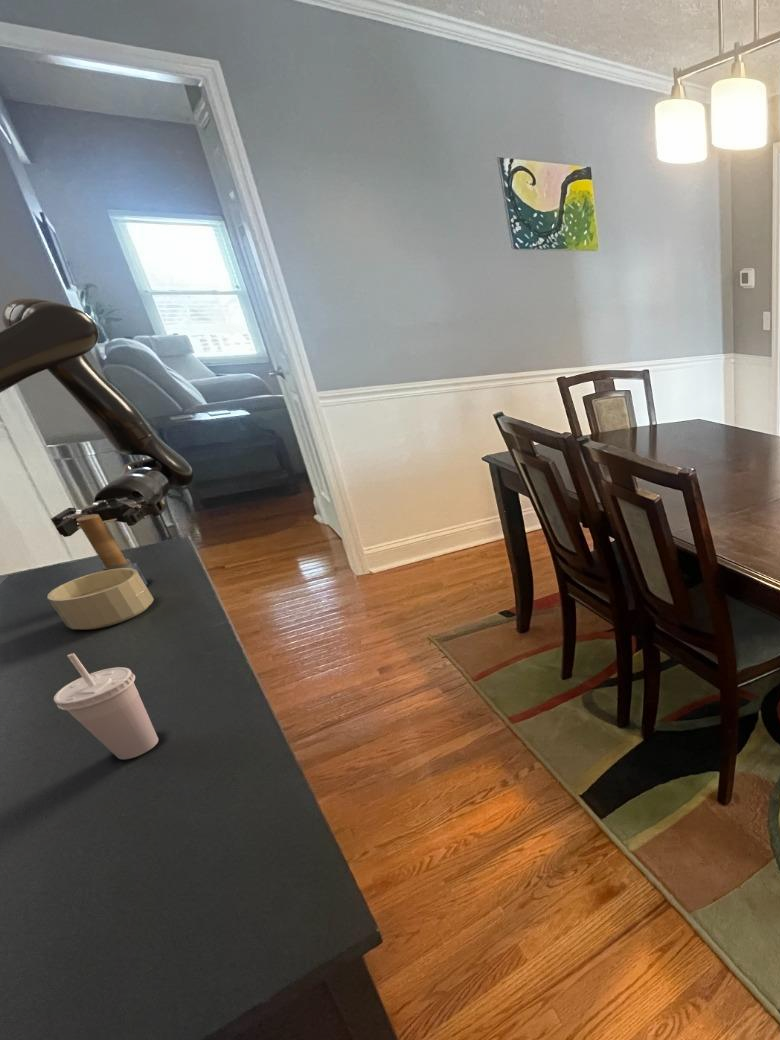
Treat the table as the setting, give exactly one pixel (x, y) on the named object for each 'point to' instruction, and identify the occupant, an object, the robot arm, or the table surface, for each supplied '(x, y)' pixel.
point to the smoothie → (109, 709)
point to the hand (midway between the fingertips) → (96, 526)
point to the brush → (105, 544)
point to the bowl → (101, 599)
